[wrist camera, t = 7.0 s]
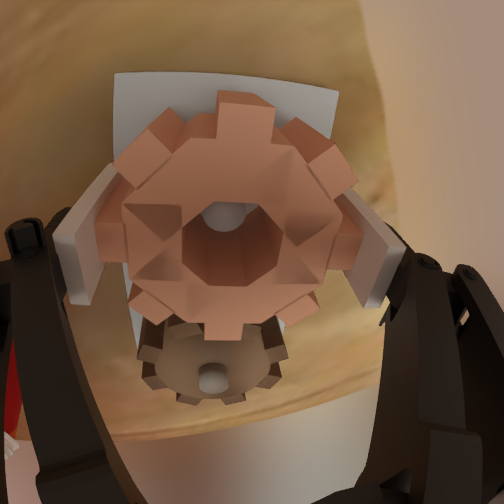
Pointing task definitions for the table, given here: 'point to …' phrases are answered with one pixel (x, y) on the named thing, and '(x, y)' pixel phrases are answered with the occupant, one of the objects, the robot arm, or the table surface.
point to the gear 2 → (210, 359)
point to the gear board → (204, 101)
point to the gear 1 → (243, 237)
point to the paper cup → (11, 407)
